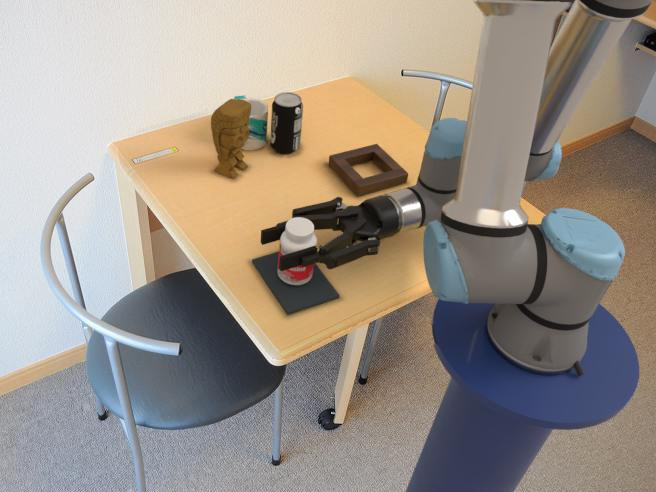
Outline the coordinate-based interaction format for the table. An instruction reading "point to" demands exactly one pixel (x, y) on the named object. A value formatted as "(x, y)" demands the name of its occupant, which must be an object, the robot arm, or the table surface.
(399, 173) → the holder
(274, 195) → the table surface
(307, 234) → the pill bottle
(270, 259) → the mat
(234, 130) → the figurine
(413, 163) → the table surface
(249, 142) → the mug
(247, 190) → the table surface
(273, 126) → the beverage can
